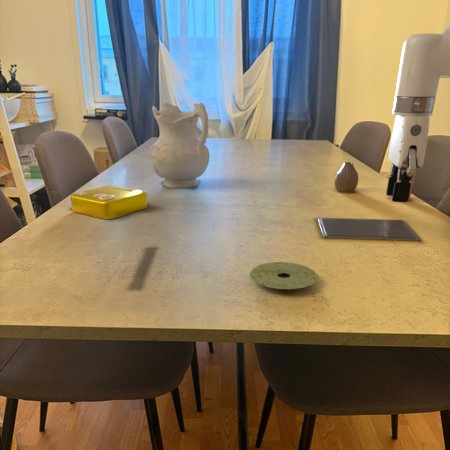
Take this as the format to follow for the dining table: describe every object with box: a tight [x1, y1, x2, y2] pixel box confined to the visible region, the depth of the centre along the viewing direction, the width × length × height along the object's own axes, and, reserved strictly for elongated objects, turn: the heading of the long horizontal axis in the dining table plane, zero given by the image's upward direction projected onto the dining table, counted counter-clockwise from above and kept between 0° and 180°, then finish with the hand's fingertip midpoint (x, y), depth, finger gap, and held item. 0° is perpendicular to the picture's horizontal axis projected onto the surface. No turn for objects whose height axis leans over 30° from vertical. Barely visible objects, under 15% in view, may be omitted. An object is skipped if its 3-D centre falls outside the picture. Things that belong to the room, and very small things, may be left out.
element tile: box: [69, 184, 148, 220], centre depth 114 cm, size 15×15×5 cm
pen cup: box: [390, 172, 416, 202], centre depth 120 cm, size 5×5×8 cm
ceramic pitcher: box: [148, 102, 210, 189], centre depth 136 cm, size 22×20×25 cm
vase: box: [333, 161, 359, 194], centre depth 129 cm, size 7×7×9 cm
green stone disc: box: [249, 261, 319, 290], centre depth 73 cm, size 11×11×2 cm
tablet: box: [317, 217, 421, 242], centre depth 98 cm, size 20×14×1 cm
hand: (396, 197), depth 94 cm, fingers open, 4 cm apart
